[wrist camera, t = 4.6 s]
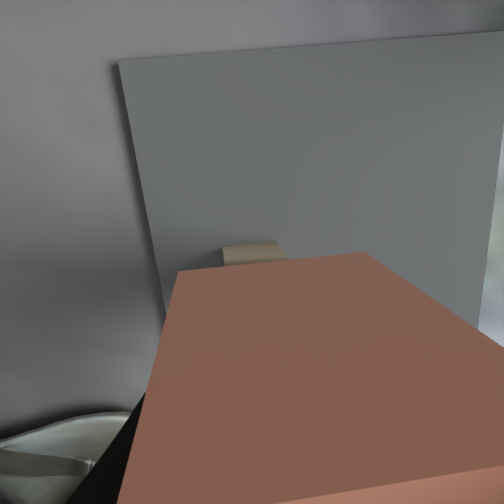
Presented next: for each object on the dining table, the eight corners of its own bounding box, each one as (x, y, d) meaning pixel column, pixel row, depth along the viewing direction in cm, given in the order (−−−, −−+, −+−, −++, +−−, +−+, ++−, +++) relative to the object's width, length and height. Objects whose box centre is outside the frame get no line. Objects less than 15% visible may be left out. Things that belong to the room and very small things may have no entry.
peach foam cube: (360, 403, 11) (545, 722, 5) (200, 426, 11) (186, 809, 5) (364, 251, 10) (640, 442, 3) (177, 271, 9) (109, 531, 3)
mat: (468, 356, 21) (473, 360, 20) (184, 401, 19) (183, 406, 19) (508, 32, 15) (515, 29, 15) (120, 62, 14) (117, 60, 14)
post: (279, 289, 18) (305, 344, 13) (228, 296, 17) (235, 354, 13) (276, 240, 17) (302, 279, 12) (222, 247, 17) (227, 289, 12)
